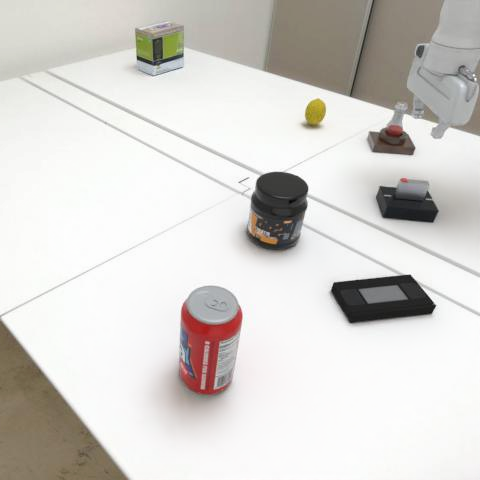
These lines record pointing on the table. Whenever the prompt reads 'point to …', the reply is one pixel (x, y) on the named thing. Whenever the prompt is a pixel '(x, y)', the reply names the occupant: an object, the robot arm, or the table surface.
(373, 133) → the button block
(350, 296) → the vhs tape
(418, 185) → the grey rocker switch
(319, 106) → the lemon
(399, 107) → the rook chess piece
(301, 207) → the supplement container
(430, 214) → the plate
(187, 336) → the soda can
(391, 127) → the button
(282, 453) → the table surface
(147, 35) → the tea box
